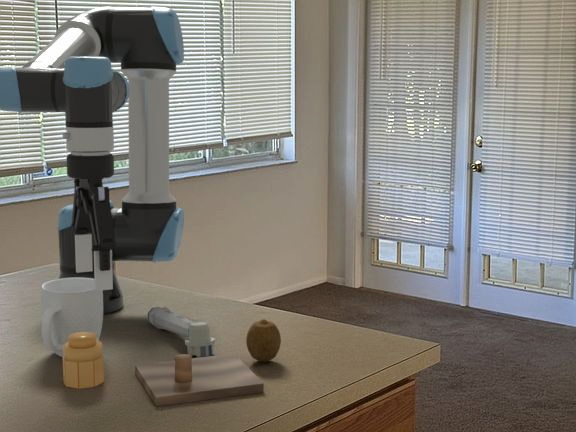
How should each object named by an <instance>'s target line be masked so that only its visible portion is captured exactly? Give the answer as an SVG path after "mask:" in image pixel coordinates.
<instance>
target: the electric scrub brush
mask: <svg viewBox="0 0 576 432" xmlns="http://www.w3.org/2000/svg"><path fill="white" fill-rule="evenodd" d="M147 322H148V323H150V324H151V325H152V326H154V327H155V328H156V329H157V330H162V329H163V330H166V331H167V332H171V333H173V334H177V335H181V336H184V337H186V338H185V340H184V345H185V346H186V347H187V354H188V355H191V356H192V357H193V356H196V358H200V357H208V356H214V345H215V343H216V340H215V338H214V337H211V331H210V326H209V324H208V323H207V322H202V321H198V322H196V321H193V320H191V319H189V318H186V317H184V316H183V315H180V314H178V313H175V312H173V311H171V310H170V309H169V308H168V307H166V306H163V307H161V306H158V307H157V306H156V307H151V309H150V310H149V311H148V313H147Z"/></svg>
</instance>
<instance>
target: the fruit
mask: <svg viewBox="0 0 576 432" xmlns="http://www.w3.org/2000/svg"><path fill="white" fill-rule="evenodd" d="M281 338H282V337H281V333H280V330H279V329H278V326H277V325H276V324H275V323H274V322H273V321H268V320H266V319H265V318H263V319H260V321H255V322H253V323H252V325H251V326H250V327H249V329H248V331H247V334H246V341H245V342H246V348H247V351H248V352H249V354H250V356H251V358H253V359H254V360H256V361H258V362H259V363H261V364H262V363H263V364H264V363H267V362H269V361H272V360H273V359H275V358H276V357H277V355H278V353H279V350H280V348H281V343H282V342H281V341H282V339H281Z"/></svg>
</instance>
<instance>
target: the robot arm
mask: <svg viewBox="0 0 576 432" xmlns="http://www.w3.org/2000/svg"><path fill="white" fill-rule="evenodd" d="M182 31H183V30H182V26H181V22H180V19H179V17H178V15H177V13H176V11H175V10H174V9H172V8H169V7H163V6H101V7H100V6H99V7H95V8H92V9H88V10H85V11H84V12H81V13H78V14H77V15H74V16H72V17H71V18H69V19H68V20H66V21H65V22H64V23H62V24H61V25H60V26H59V27H58V28H57V30H56V32H55V34H54V38H53V39H51V41H50V42H49V43H48V44H46V45H45V47H43V48H42V49H41V50H40V51H39V52H37V53H36V54H35V55H34V56H33V57H32V58H31V59H29V61H28V62H26V63H25V64H24V65H22V67H15V66H11V67H3V68H0V110H1V111H4V112H13V113H14V112H17V113H19V114H20V113H64V115H65V116H64V117H65V131H66V132H63V133H62V138H63V139H64V140H66V141H65V142H66V150H67V152H69V154H68V153H67V156H66V175H67V176H68V178H71V179H74V180H73V184H74V187H73V188H74V190H73V191H74V192H73V203H72V204H68V205H65V206H64V207H62V208H61V209H60V210H59V212H58V222H57V223H58V226H57V231H58V232H57V234H58V253H59V256H58V257H59V258H58V259H59V276H58V279H62V278H74V277H79V278H92V279H95V290H96V291H100V290H103V315H104V314H108V313H110V314H111V313H114V312H116V311H118V310H120V309H122V308H123V306H124V295H123V290H122V289H121V285H120V282H119V280H118V277H117V274H116V272H115V271H116V270H115V262H150V263H151V262H152V263H153V264H155V263H157V262H158V263H159V262H161V263H163V262H171V261H173V260H175V258H176V257H177V255H178V253H179V250H180V248H181V243H182V238H183V233H184V223H185V216H184V215H185V213H184V209H183V208H180V207H177V199H176V197H174V196H173V195H172V193H171V192H170V80H171V79H172V77H173V76H174V75H175V74H176V73H177V65H180V64H182V63H184V60H185V46H184V38H183V32H182ZM115 63H116V64H117V63H118V64H120V71H121V72H120V71H118V70H116V69H113V68H112V64H115ZM127 102H128V105H127V106H128V109H127V110H128V193H127V194H125V196H124V197H123V198H122V199H121V207H115V206H114V204H115V203H114V202H113V201H112V200H111V199H110V188H109V186H104V185H103V180H104V179H109V178H112V177H113V176H114V175H115V156H114V155H113V153H111V152H113V151H114V149H115V142H114V140H115V138H114V137H115V135H114V125H113V123H114V119H113V113H115V112H117V111H118V110H120V109H121V108H123V107H124V105H126V103H127Z"/></svg>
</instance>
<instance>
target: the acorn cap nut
mask: <svg viewBox="0 0 576 432" xmlns="http://www.w3.org/2000/svg"><path fill="white" fill-rule="evenodd" d="M104 365H105V364H104V355H103V342H102V341H100V339H99V340H96V334H95V333H92V332H78V333H73V334H71V335H69V336H68V342H66V343H65V344H64V345H63V357H62V373H63V374H62V375H63V378H62V379H63V384H64V386H65V387H67V388H72V389H77V390H78V389H80V390H82V389H89V388H94V387H97V386H99V385H101V384H102V383H103V384H104V381H105V371H104V370H105V369H104V367H105V366H104Z"/></svg>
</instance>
